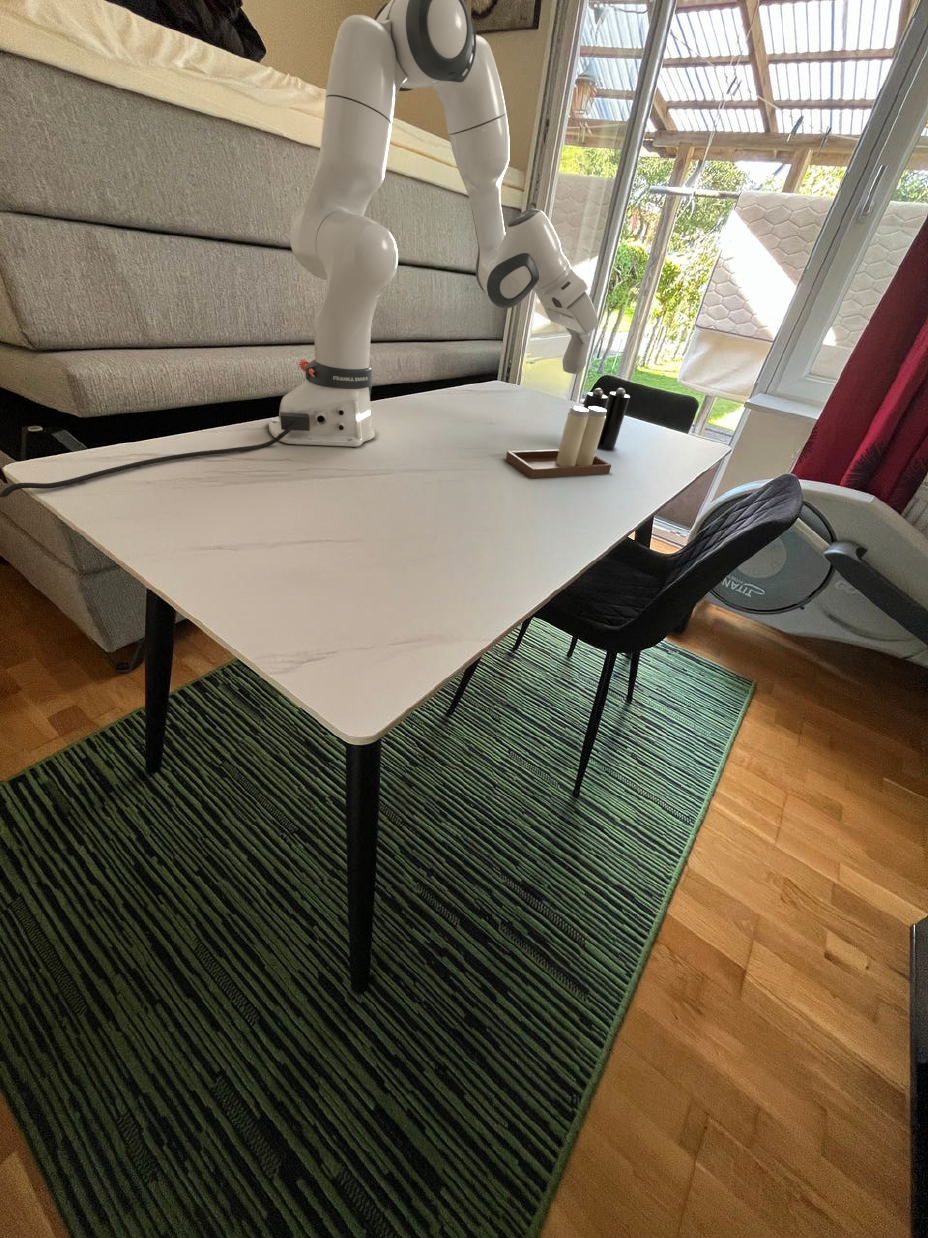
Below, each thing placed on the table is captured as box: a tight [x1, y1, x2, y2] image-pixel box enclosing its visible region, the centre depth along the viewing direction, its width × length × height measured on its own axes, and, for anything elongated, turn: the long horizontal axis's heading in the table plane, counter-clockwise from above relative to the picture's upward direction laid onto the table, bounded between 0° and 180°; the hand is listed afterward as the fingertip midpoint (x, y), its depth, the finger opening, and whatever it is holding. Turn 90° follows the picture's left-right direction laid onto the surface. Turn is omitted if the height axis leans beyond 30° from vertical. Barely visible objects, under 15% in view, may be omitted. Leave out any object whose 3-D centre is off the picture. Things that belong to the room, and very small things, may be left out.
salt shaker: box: [562, 331, 589, 375], centre depth 125 cm, size 6×6×13 cm
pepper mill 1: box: [582, 387, 609, 409], centre depth 126 cm, size 5×5×14 cm
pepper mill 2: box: [597, 387, 631, 451], centre depth 130 cm, size 5×5×14 cm
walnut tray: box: [505, 449, 612, 479], centre depth 116 cm, size 22×11×2 cm, turn 117°
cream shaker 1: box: [556, 405, 589, 466], centre depth 113 cm, size 4×4×12 cm
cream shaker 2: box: [576, 406, 607, 466], centre depth 116 cm, size 4×4×12 cm
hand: (581, 340), depth 125 cm, fingers closed on salt shaker, 3 cm apart
